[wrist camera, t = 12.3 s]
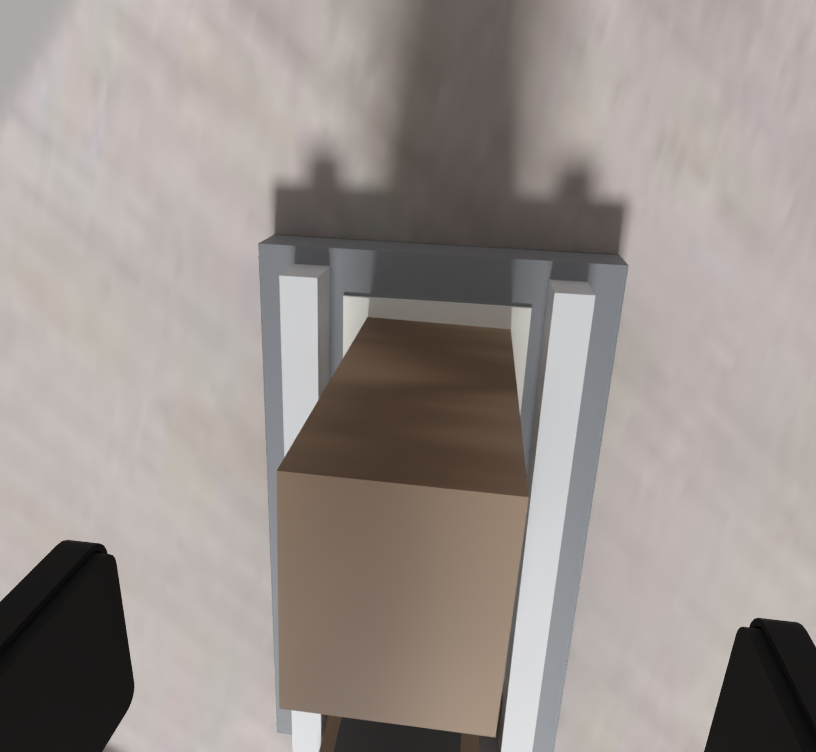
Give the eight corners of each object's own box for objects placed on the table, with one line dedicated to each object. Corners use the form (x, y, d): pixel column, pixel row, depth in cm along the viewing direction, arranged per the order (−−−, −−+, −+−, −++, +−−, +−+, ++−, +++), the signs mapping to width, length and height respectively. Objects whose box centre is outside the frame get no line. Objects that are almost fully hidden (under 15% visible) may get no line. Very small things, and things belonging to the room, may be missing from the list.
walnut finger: (510, 329, 19) (529, 497, 11) (489, 510, 21) (491, 770, 13) (367, 317, 19) (276, 470, 11) (360, 496, 22) (279, 740, 13)
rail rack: (274, 234, 21) (80, 345, 11) (618, 254, 20) (747, 393, 10) (288, 700, 27) (174, 1033, 17) (548, 730, 26) (584, 1100, 16)
